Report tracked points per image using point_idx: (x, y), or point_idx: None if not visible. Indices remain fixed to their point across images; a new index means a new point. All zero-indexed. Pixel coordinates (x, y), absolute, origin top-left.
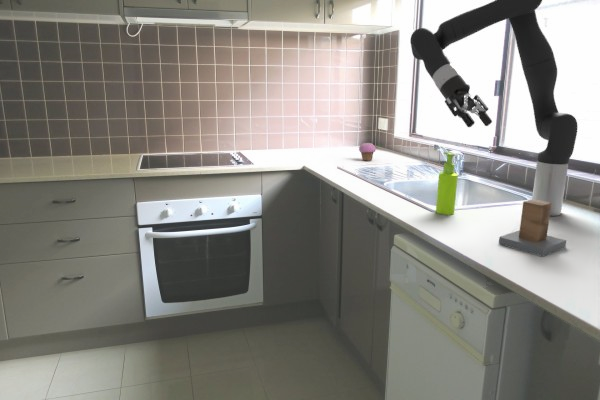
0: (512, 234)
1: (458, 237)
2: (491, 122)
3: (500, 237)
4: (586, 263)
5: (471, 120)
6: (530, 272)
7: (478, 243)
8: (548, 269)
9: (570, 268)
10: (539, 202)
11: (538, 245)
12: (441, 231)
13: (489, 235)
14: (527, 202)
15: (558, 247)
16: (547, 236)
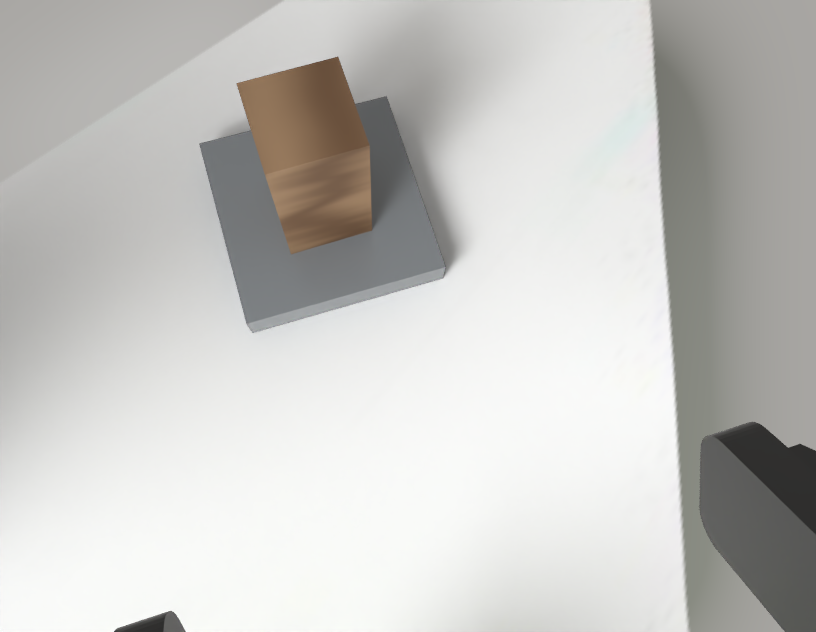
0: (362, 275)
1: (564, 406)
2: (132, 626)
3: (444, 263)
4: (287, 23)
5: (791, 457)
6: (543, 25)
7: (526, 309)
8: (464, 25)
9: (383, 10)
10: (293, 108)
11: (370, 132)
12: (593, 514)
13: (399, 386)
14: (360, 126)
15: None
16: (231, 204)
